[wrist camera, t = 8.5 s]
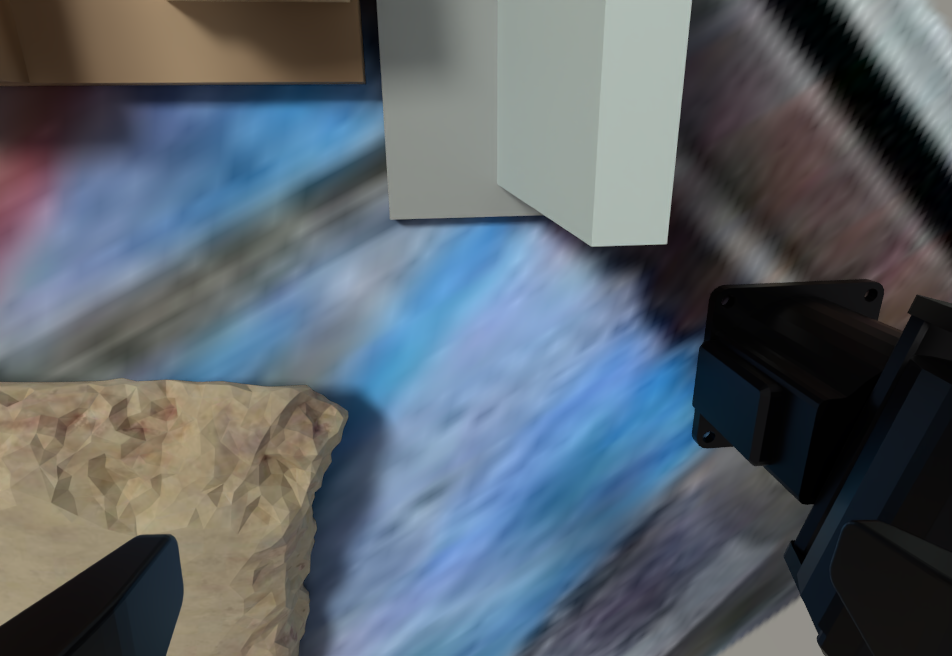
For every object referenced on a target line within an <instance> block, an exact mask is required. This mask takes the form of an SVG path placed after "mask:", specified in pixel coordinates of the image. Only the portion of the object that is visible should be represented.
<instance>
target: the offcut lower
mask: <svg viewBox="0 0 952 656" xmlns="http://www.w3.org/2000/svg"><path fill="white" fill-rule="evenodd" d="M166 1H241V2H350V0H166Z"/></svg>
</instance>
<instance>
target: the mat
mask: <svg viewBox="0 0 952 656" xmlns="http://www.w3.org/2000/svg"><path fill="white" fill-rule="evenodd" d="M377 16H378V32H379V48H380V64H381V80H382V96H383V112H384V129H385V145H386V161H387V177H388V193H389V209H390V220H394V219H429V218H464V217H498V216H533V215H543V214H541V213H540V212H538V211H537V210H535V209H534V208H532V207H531V206H529V205H528V204H526V203H525V202H523V201H522V200H520V199H519V198H517V197H516V196H514V195H513V194H511V193H510V192H508V191H507V190H505V189H504V188H502V187H501V186H499V185H498V184H497V56H498V0H377Z"/></svg>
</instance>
